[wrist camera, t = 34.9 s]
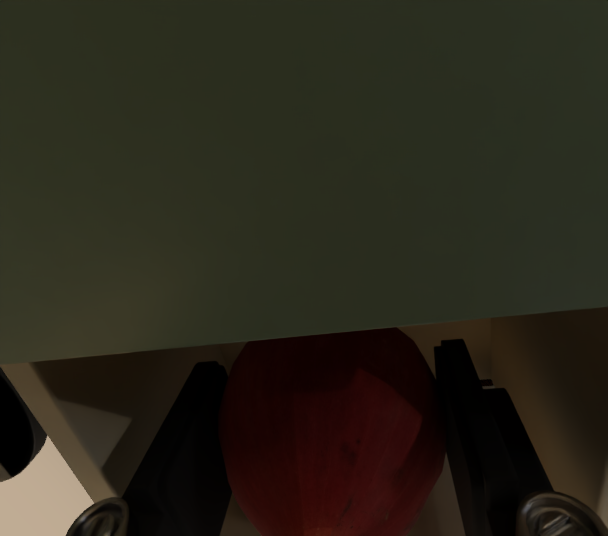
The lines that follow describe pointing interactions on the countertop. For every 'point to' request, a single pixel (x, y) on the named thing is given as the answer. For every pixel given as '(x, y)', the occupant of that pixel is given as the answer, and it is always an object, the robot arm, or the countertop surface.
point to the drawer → (479, 341)
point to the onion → (332, 433)
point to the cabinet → (295, 168)
